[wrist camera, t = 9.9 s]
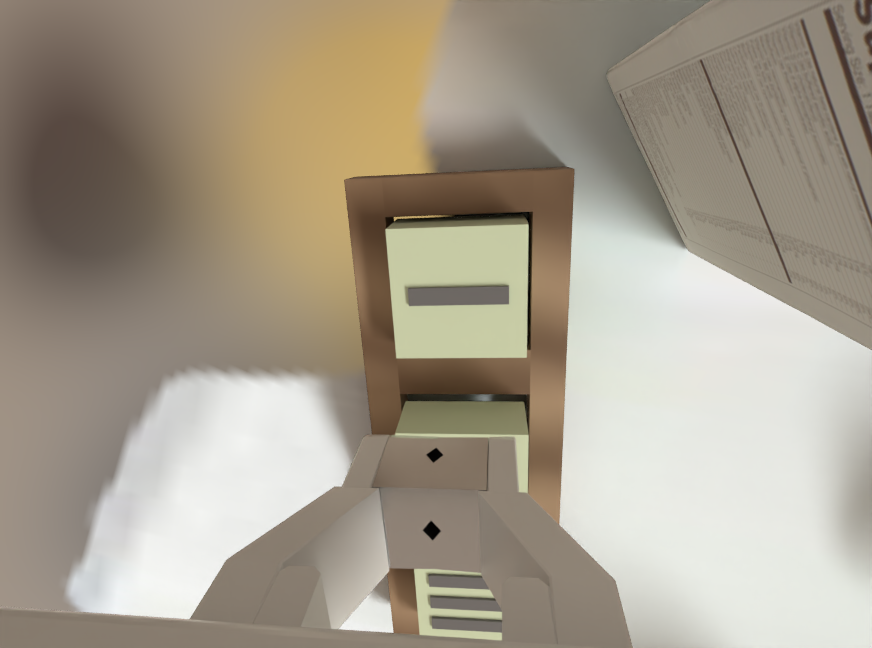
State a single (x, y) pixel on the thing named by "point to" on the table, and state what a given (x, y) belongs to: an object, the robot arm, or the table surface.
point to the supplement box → (766, 146)
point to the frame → (534, 375)
